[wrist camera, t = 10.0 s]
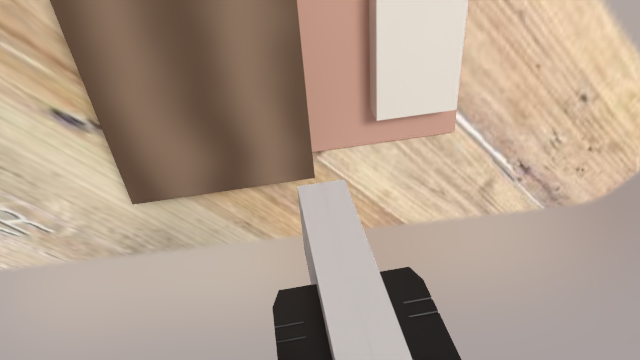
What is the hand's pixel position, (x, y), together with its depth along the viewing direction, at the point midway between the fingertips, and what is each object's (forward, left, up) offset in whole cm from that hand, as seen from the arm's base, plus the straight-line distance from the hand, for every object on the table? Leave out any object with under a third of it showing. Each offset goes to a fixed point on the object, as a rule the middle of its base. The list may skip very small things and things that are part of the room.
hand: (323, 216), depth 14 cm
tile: (+9, -2, -17) cm, 19 cm away
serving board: (-5, -2, -19) cm, 20 cm away
